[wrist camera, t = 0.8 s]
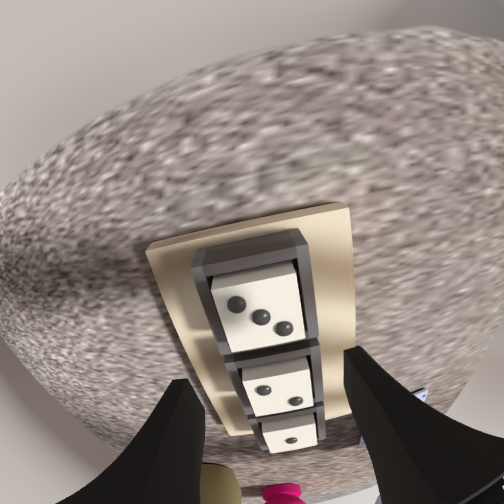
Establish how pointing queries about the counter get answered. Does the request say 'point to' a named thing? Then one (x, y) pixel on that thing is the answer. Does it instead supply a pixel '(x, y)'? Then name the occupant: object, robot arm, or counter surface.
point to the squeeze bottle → (218, 485)
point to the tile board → (311, 298)
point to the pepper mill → (282, 494)
